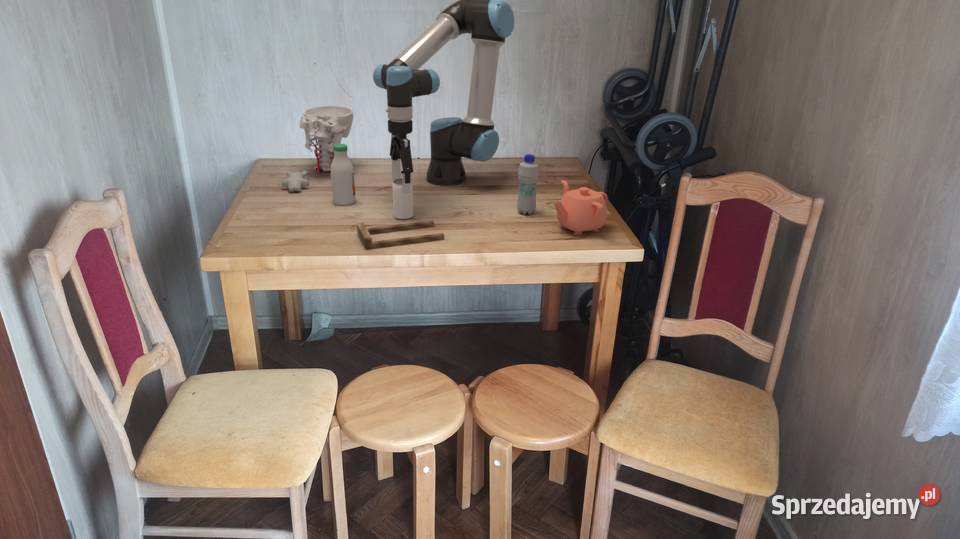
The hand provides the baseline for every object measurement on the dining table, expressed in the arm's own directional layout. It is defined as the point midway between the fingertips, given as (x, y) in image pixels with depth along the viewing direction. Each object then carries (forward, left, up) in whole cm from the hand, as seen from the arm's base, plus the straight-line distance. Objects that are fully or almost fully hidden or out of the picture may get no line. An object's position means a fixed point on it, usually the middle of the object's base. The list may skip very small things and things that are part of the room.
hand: (401, 186), depth 205 cm
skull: (+15, -54, -11) cm, 57 cm away
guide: (+4, +16, -11) cm, 19 cm away
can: (0, 0, -11) cm, 11 cm away
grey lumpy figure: (+29, -40, -11) cm, 51 cm away
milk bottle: (+16, -19, -11) cm, 27 cm away
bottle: (-40, +9, -11) cm, 43 cm away
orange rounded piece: (-50, +26, -11) cm, 58 cm away
